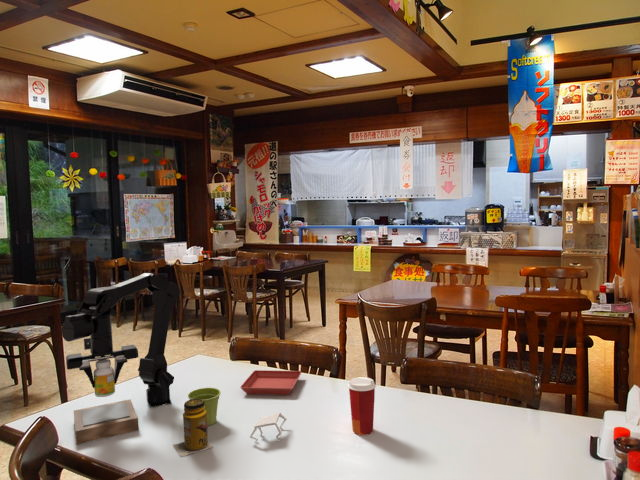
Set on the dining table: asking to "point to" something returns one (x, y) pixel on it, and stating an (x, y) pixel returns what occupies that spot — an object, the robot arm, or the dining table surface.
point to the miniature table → (267, 422)
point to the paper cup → (362, 404)
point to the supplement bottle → (104, 378)
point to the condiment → (194, 428)
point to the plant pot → (207, 401)
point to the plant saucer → (271, 382)
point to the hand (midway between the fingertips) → (104, 385)
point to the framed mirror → (105, 421)
